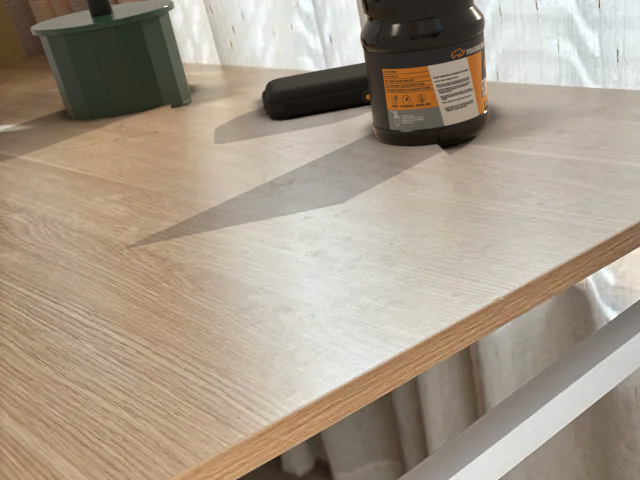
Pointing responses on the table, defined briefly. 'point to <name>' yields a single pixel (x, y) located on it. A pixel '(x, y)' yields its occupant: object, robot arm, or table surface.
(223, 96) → the table surface
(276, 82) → the carrying case
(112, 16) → the lid
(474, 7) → the supplement container
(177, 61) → the tin
